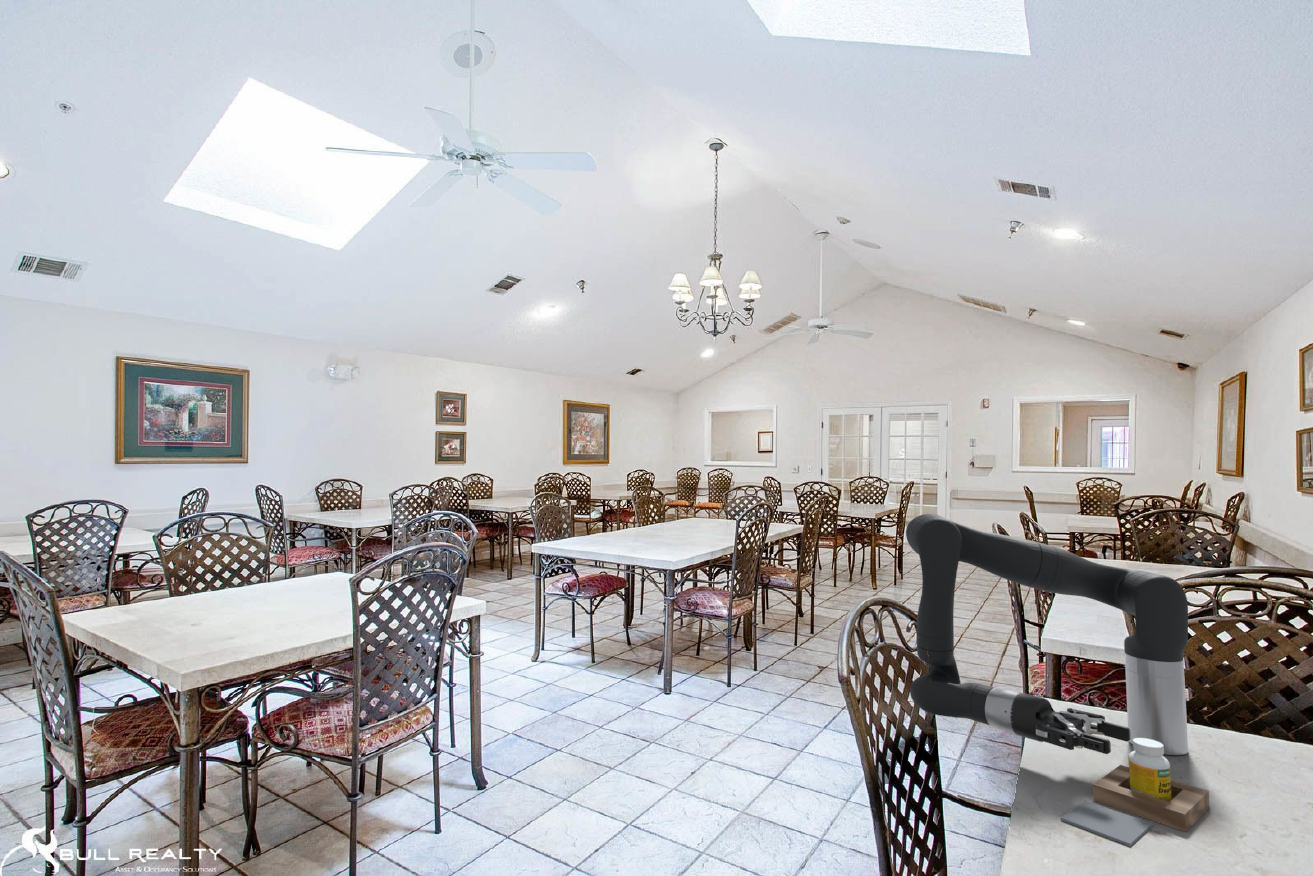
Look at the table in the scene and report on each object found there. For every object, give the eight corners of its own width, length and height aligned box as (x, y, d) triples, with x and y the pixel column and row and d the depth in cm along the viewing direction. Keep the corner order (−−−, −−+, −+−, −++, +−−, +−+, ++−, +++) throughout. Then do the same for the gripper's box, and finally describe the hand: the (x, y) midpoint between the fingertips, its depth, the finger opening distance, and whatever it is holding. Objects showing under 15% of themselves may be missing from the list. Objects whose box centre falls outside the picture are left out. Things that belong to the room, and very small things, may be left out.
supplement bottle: (1138, 792, 109) (1135, 733, 109) (1178, 806, 104) (1174, 744, 105) (1124, 801, 106) (1121, 740, 106) (1164, 816, 101) (1161, 751, 102)
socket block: (1121, 779, 113) (1120, 764, 113) (1209, 807, 104) (1208, 791, 104) (1093, 800, 106) (1092, 784, 106) (1185, 832, 97) (1184, 814, 97)
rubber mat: (1085, 802, 105) (1084, 800, 105) (1152, 826, 98) (1152, 823, 98) (1060, 820, 100) (1060, 817, 100) (1130, 846, 93) (1130, 843, 93)
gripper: (998, 700, 118) (1102, 727, 105) (1035, 685, 126) (1134, 708, 113) (1000, 743, 117) (1104, 776, 104) (1036, 725, 126) (1137, 753, 113)
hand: (1120, 741), depth 109 cm, fingers open, 8 cm apart
